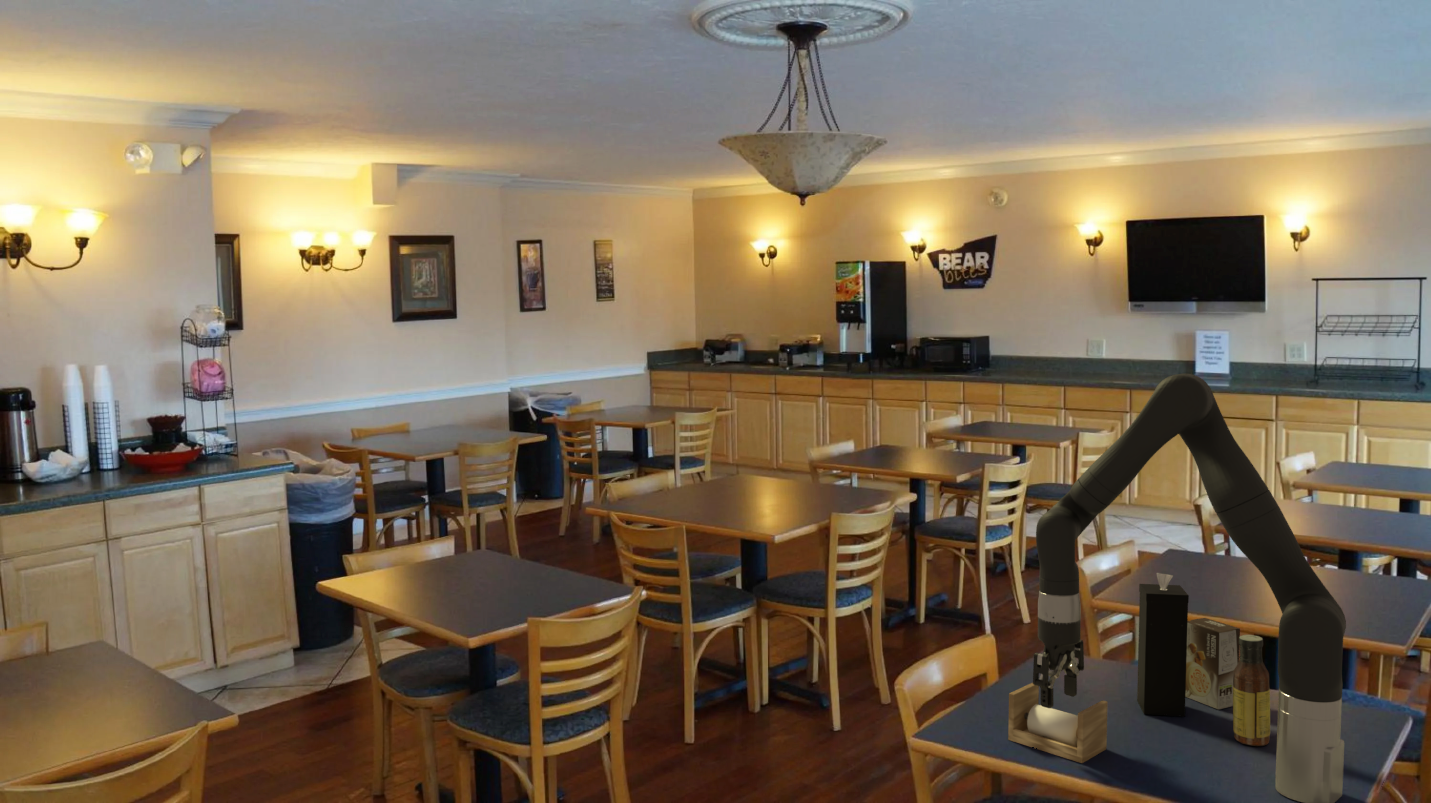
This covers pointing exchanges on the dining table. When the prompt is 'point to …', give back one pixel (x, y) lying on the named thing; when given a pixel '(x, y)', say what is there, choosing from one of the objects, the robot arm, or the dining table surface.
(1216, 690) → the coffee box
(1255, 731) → the sauce bottle
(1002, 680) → the dining table surface
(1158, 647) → the tissue box
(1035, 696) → the holder
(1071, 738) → the cylinder
